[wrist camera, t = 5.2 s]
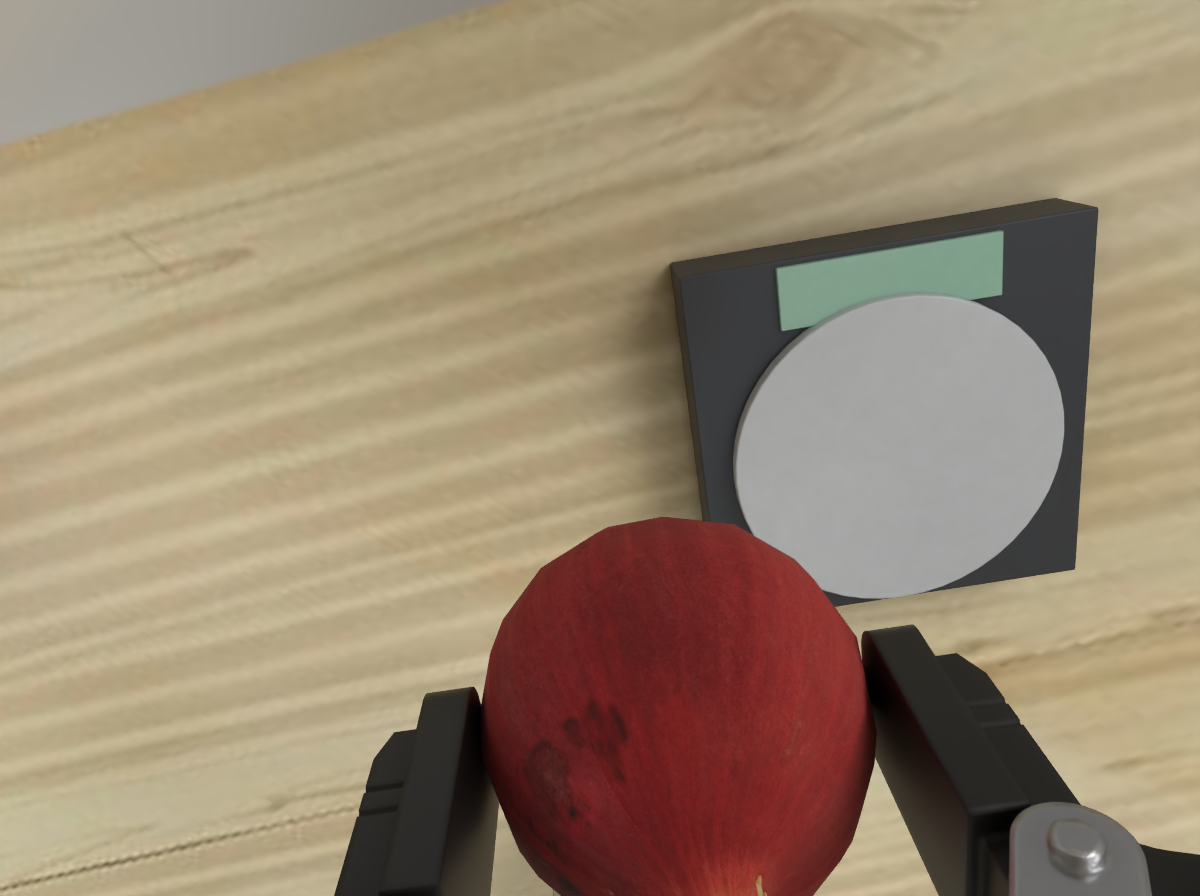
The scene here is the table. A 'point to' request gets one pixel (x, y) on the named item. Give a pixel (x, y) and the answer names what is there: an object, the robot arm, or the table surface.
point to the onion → (678, 718)
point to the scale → (897, 396)
